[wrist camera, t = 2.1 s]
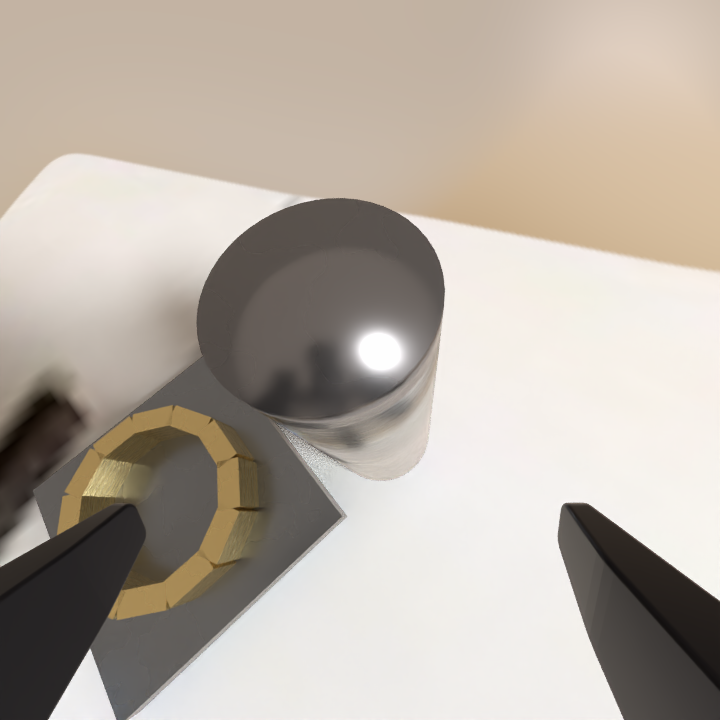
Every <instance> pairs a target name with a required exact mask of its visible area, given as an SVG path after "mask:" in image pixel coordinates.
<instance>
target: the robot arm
mask: <svg viewBox="0 0 720 720" xmlns="http://www.w3.org/2000/svg"><path fill="white" fill-rule="evenodd" d="M145 539H146V528H145V526H144V524H143V521H142V519H141V517H140V514H139V512H138V510H137V508H136V506H135V505H134V504H132V503H115V504H112V505H110V506H108V507H106V508H104V509H103V510H101V511H99V512H97V513H96V514H94V515H92V516H90V517H88V518H87V519H85V520H83V521H81V522H80V523H78V524H76V525H74V526H73V527H71V528H69V529H67V530H65V531H64V532H62V533H60V534H58V535H57V536H55V537H53V538H51V539H50V540H48V541H46V542H44V543H42V544H41V545H39V546H37V547H35V548H34V549H32V550H30V551H28V552H27V553H25V554H23V555H21V556H19V557H18V558H16V559H14V560H12V561H11V562H9V563H7V564H5V565H4V566H2V567H0V720H48V719H49V717H50V716H51V714H52V712H53V710H54V709H55V707H56V705H57V704H58V702H59V700H60V698H61V697H62V695H63V693H64V692H65V690H66V688H67V686H68V685H69V683H70V681H71V680H72V678H73V676H74V674H75V673H76V671H77V669H78V668H79V666H80V664H81V662H82V661H83V659H84V657H85V656H86V654H87V652H88V650H89V649H90V647H91V645H92V644H93V642H94V640H95V638H96V637H97V635H98V633H99V632H100V630H101V628H102V626H103V625H104V623H105V621H106V619H107V617H108V616H109V614H110V612H111V610H112V608H113V606H114V604H115V602H116V600H117V598H118V596H119V594H120V592H121V590H122V587H123V585H124V583H125V581H126V579H127V577H128V575H129V573H130V571H131V569H132V567H133V565H134V563H135V561H136V559H137V557H138V554H139V552H140V550H141V548H142V546H143V544H144V542H145ZM558 543H559V548H560V551H561V554H562V557H563V560H564V563H565V566H566V570H567V573H568V576H569V579H570V582H571V585H572V588H573V591H574V594H575V597H576V600H577V603H578V607H579V610H580V613H581V616H582V619H583V622H584V625H585V628H586V631H587V633H588V636H589V639H590V642H591V644H592V646H593V649H594V651H595V654H596V656H597V658H598V661H599V663H600V665H601V668H602V670H603V672H604V675H605V677H606V679H607V682H608V684H609V686H610V689H611V691H612V693H613V695H614V698H615V700H616V702H617V705H618V707H619V709H620V712H621V714H622V716H623V719H624V720H720V601H719V600H718V599H716V598H715V597H714V596H712V595H711V594H710V593H708V592H707V591H706V590H704V589H703V588H702V587H700V586H699V585H697V584H696V583H695V582H693V581H692V580H691V579H689V578H688V577H687V576H685V575H684V574H683V573H681V572H680V571H679V570H677V569H676V568H675V567H673V566H672V565H670V564H669V563H668V562H666V561H665V560H664V559H662V558H661V557H660V556H658V555H657V554H656V553H654V552H653V551H652V550H650V549H649V548H647V547H646V546H645V545H643V544H642V543H641V542H639V541H638V540H637V539H635V538H634V537H633V536H631V535H630V534H629V533H627V532H626V531H625V530H623V529H622V528H620V527H619V526H618V525H616V524H615V523H614V522H612V521H611V520H610V519H608V518H607V517H606V516H604V515H603V514H602V513H600V512H599V511H597V510H596V509H595V508H593V507H592V506H591V505H589V504H587V503H565V504H563V506H562V508H561V514H560V521H559V529H558Z"/></svg>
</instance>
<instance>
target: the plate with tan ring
mask: <svg viewBox="0 0 720 720" xmlns="http://www.w3.org/2000/svg"><path fill="white" fill-rule="evenodd" d="M33 492H34V495H35V498H36V501H37V503H38V506H39V509H40V512H41V514H42V517H43V520H44V523H45V525H46V528H47V531H48V534H49V536H50V539H51V538H53V537H55V536H57V535H58V534H60V533H62V532H64V531H65V530H67V529H69V528H71V527H73V526H74V525H76V524H78V523H80V522H81V521H83V520H85V519H87V518H88V517H90V516H92V515H94V514H96V513H97V512H99V511H101V510H103V509H104V508H106V507H108V506H110V505H112V504H115V503H132V504H134V505H135V506H136V508H137V510H138V512H139V514H140V517H141V519H142V521H143V524H144V526H145V528H146V539H145V542H144V544H143V546H142V548H141V550H140V552H139V554H138V557H137V559H136V561H135V563H134V565H133V567H132V569H131V571H130V573H129V575H128V577H127V579H126V581H125V583H124V585H123V587H122V590H121V592H120V594H119V596H118V598H117V600H116V602H115V604H114V606H113V608H112V610H111V612H110V614H109V616H108V617H107V619H106V621H105V623H104V625H103V626H102V628H101V630H100V632H99V633H98V635H97V637H96V638H95V640H94V642H93V644H92V645H91V647H90V648H91V651H92V654H93V657H94V659H95V662H96V665H97V668H98V670H99V673H100V676H101V678H102V681H103V684H104V687H105V689H106V692H107V695H108V698H109V700H110V703H111V706H112V709H113V711H114V714H115V717H116V719H117V720H129V719H130V718H131V717H133V716H134V715H136V714H137V713H139V712H140V711H141V710H142V709H143V708H144V707H145V706H146V705H147V704H148V703H149V702H151V701H152V700H153V699H154V698H155V697H156V696H157V695H158V694H159V693H160V692H161V691H162V690H163V689H164V688H165V687H166V686H168V685H169V684H170V683H171V682H172V681H173V680H174V679H175V678H176V677H177V676H178V675H179V674H180V673H181V672H182V671H183V670H185V669H186V668H187V667H188V666H189V665H190V664H191V663H192V662H193V661H194V660H195V659H196V658H197V657H198V656H199V655H200V654H201V653H203V652H204V651H205V650H206V649H207V648H208V647H209V646H210V645H211V644H212V643H213V642H214V641H215V640H216V639H217V638H218V637H220V636H221V635H222V634H223V633H224V632H225V631H226V630H227V629H228V628H229V627H230V626H231V625H232V624H233V623H234V622H235V621H237V620H238V619H239V618H240V617H241V616H242V615H243V614H244V613H245V612H246V611H247V610H248V609H249V608H250V607H251V606H252V605H253V604H255V603H256V602H257V601H258V600H259V599H260V598H261V597H262V596H263V595H264V594H265V593H266V592H267V591H268V590H269V589H270V588H272V587H273V586H274V585H275V584H276V583H277V582H278V581H279V580H280V579H281V578H282V577H283V576H284V575H285V574H286V573H287V572H289V571H290V570H291V569H292V568H293V567H294V566H295V565H296V564H297V563H298V562H299V561H300V560H301V559H302V558H303V557H304V556H306V555H307V554H308V553H309V552H310V551H311V550H312V549H313V548H314V547H315V546H316V545H317V544H318V543H319V542H320V541H321V540H322V539H324V538H325V537H326V536H327V535H328V534H329V533H330V532H331V531H332V530H333V529H334V528H335V527H336V526H337V525H338V524H339V523H341V522H342V521H343V520H344V519H345V518H346V517H347V516H346V514H345V513H344V512H343V510H342V509H341V508H340V506H339V505H338V504H337V503H336V501H335V500H334V499H333V497H332V496H331V495H330V493H329V492H328V491H327V489H326V488H325V487H324V486H323V484H322V483H321V482H320V480H319V479H318V478H317V476H316V475H315V474H314V472H313V471H312V470H311V468H310V467H309V466H308V465H307V463H306V462H305V461H304V459H303V458H302V457H301V455H300V454H299V453H298V451H297V450H296V449H295V448H294V446H293V445H292V444H291V442H290V441H289V440H288V438H287V437H286V436H285V434H284V433H283V432H282V431H281V429H280V428H279V427H278V425H277V424H276V423H275V422H274V421H273V420H271V419H269V418H268V417H266V416H265V415H263V414H262V413H260V412H258V411H257V410H255V409H254V408H252V407H251V406H249V405H247V404H246V403H244V402H243V401H241V400H240V399H238V398H236V397H235V396H234V395H232V394H231V393H230V392H229V391H228V390H226V389H225V388H224V387H223V386H222V385H221V384H220V383H219V381H218V380H217V379H216V378H215V377H214V375H213V374H212V372H211V371H210V369H209V367H208V366H207V364H206V362H205V360H204V357H201V358H200V359H199V360H198V361H196V362H195V363H194V364H193V365H191V366H190V367H189V368H187V369H186V370H185V371H184V372H182V373H181V374H180V375H179V376H177V377H176V378H175V379H174V380H172V381H171V382H170V383H168V384H167V385H166V386H165V387H163V388H162V389H161V390H160V391H158V392H157V393H156V394H155V395H153V396H152V397H151V398H149V399H148V400H147V401H146V402H144V403H143V404H142V405H141V406H139V407H138V408H137V409H136V410H134V411H133V412H132V413H130V414H129V415H128V416H127V417H125V418H124V419H123V420H122V421H120V422H119V423H118V424H117V425H115V426H114V427H113V428H111V429H110V430H109V431H108V432H106V433H105V434H104V435H103V436H101V437H100V438H99V439H98V440H96V441H95V442H94V443H92V444H91V445H90V446H89V447H87V448H86V449H85V450H84V451H82V452H81V453H80V454H79V455H77V456H76V457H75V458H73V459H72V460H71V461H70V462H68V463H67V464H66V465H65V466H63V467H62V468H61V469H60V470H58V471H57V472H56V473H54V474H53V475H52V476H51V477H49V478H48V479H47V480H46V481H44V482H43V483H42V484H41V485H39V486H38V487H37V488H35V489H34V490H33Z"/></svg>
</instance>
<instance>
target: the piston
mask: <svg viewBox="0 0 720 720" xmlns="http://www.w3.org/2000/svg"><path fill="white" fill-rule="evenodd" d="M444 295H445V287H444V277H443V272H442V269H441V265H440V262H439V259H438V257H437V255H436V253H435V250H434V248H433V247H432V245H431V244H430V242H429V241H428V239H427V238H426V237H425V236H424V234H423V233H422V232H421V231H420V230H419V229H418V228H417V227H416V226H415V225H414V224H412V223H411V222H410V221H409V220H408V219H406V218H405V217H403V216H401V215H400V214H398V213H397V212H395V211H392V210H390V209H388V208H386V207H384V206H380V205H377V204H374V203H371V202H367V201H361V200H356V199H345V198H334V199H321V200H314V201H309V202H304V203H300V204H297V205H294V206H291V207H288V208H285V209H283V210H280V211H278V212H276V213H273V214H272V215H270V216H268V217H266V218H264V219H262V220H261V221H259V222H258V223H256V224H255V225H253V226H252V227H250V228H249V229H248V230H246V231H245V232H244V233H243V234H241V235H240V236H239V237H238V238H237V239H236V240H235V241H234V242H233V243H232V244H231V245H230V246H229V247H228V248H227V249H226V250H225V252H224V253H223V254H222V255H221V257H220V258H219V259H218V261H217V262H216V264H215V265H214V267H213V268H212V270H211V272H210V274H209V276H208V278H207V280H206V282H205V285H204V287H203V290H202V293H201V296H200V301H199V305H198V312H197V335H198V340H199V345H200V349H201V352H202V355H203V357H204V360H205V362H206V364H207V366H208V367H209V369H210V371H211V372H212V374H213V375H214V377H215V378H216V379H217V380H218V381H219V383H220V384H221V385H222V386H223V387H224V388H225V389H226V390H228V391H229V392H230V393H231V394H232V395H234V396H235V397H236V398H238V399H240V400H241V401H243V402H244V403H246V404H247V405H249V406H251V407H252V408H254V409H255V410H257V411H258V412H260V413H262V414H263V415H265V416H266V417H268V418H269V419H271V420H273V421H274V422H276V423H277V424H279V425H280V426H282V427H284V428H285V429H287V430H288V431H290V432H291V433H293V434H295V435H296V436H298V437H299V438H301V439H302V440H304V441H306V442H307V443H309V444H310V445H312V446H313V447H315V448H317V449H318V450H320V451H321V452H323V453H324V454H326V455H328V456H329V457H331V458H332V459H334V460H335V461H337V462H339V463H340V464H342V465H343V466H345V467H346V468H348V469H350V470H351V471H353V472H354V473H356V474H358V475H359V476H361V477H364V478H366V479H370V480H376V481H386V480H392V479H395V478H398V477H401V476H403V475H405V474H406V473H408V472H409V471H410V470H412V469H413V468H414V467H415V466H416V465H417V464H418V463H419V461H420V460H421V458H422V457H423V455H424V453H425V450H426V447H427V444H428V438H429V430H430V421H431V412H432V404H433V395H434V386H435V378H436V369H437V361H438V352H439V343H440V335H441V326H442V317H443V309H444Z"/></svg>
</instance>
